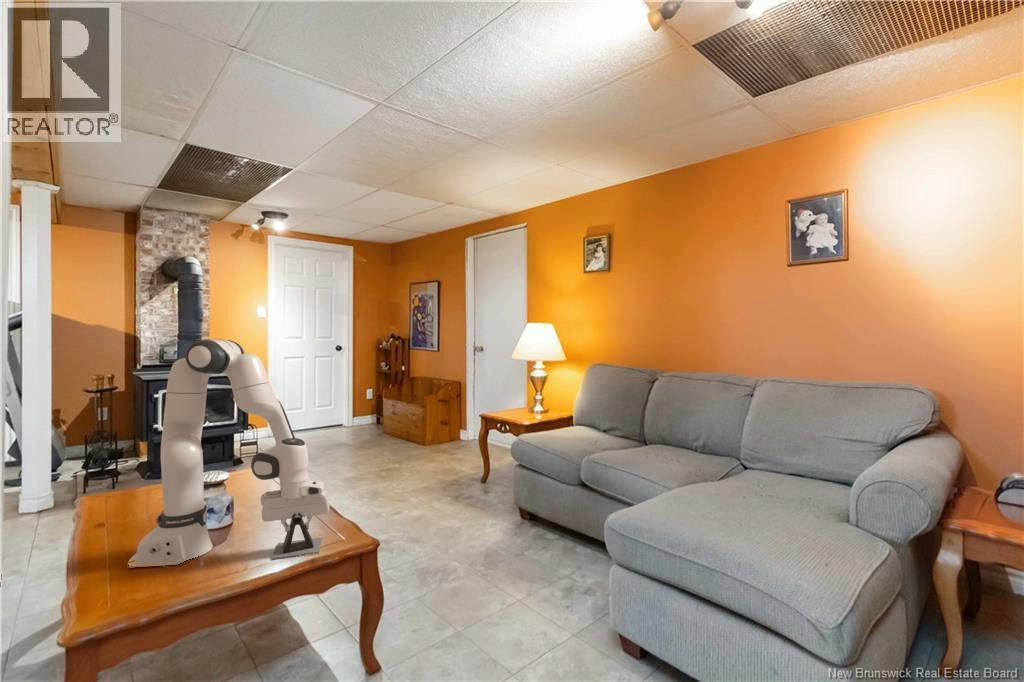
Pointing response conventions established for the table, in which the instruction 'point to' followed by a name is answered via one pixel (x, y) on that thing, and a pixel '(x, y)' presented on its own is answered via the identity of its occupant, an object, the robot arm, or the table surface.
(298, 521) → the black triangular stand
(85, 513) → the table surface
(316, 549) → the mat
